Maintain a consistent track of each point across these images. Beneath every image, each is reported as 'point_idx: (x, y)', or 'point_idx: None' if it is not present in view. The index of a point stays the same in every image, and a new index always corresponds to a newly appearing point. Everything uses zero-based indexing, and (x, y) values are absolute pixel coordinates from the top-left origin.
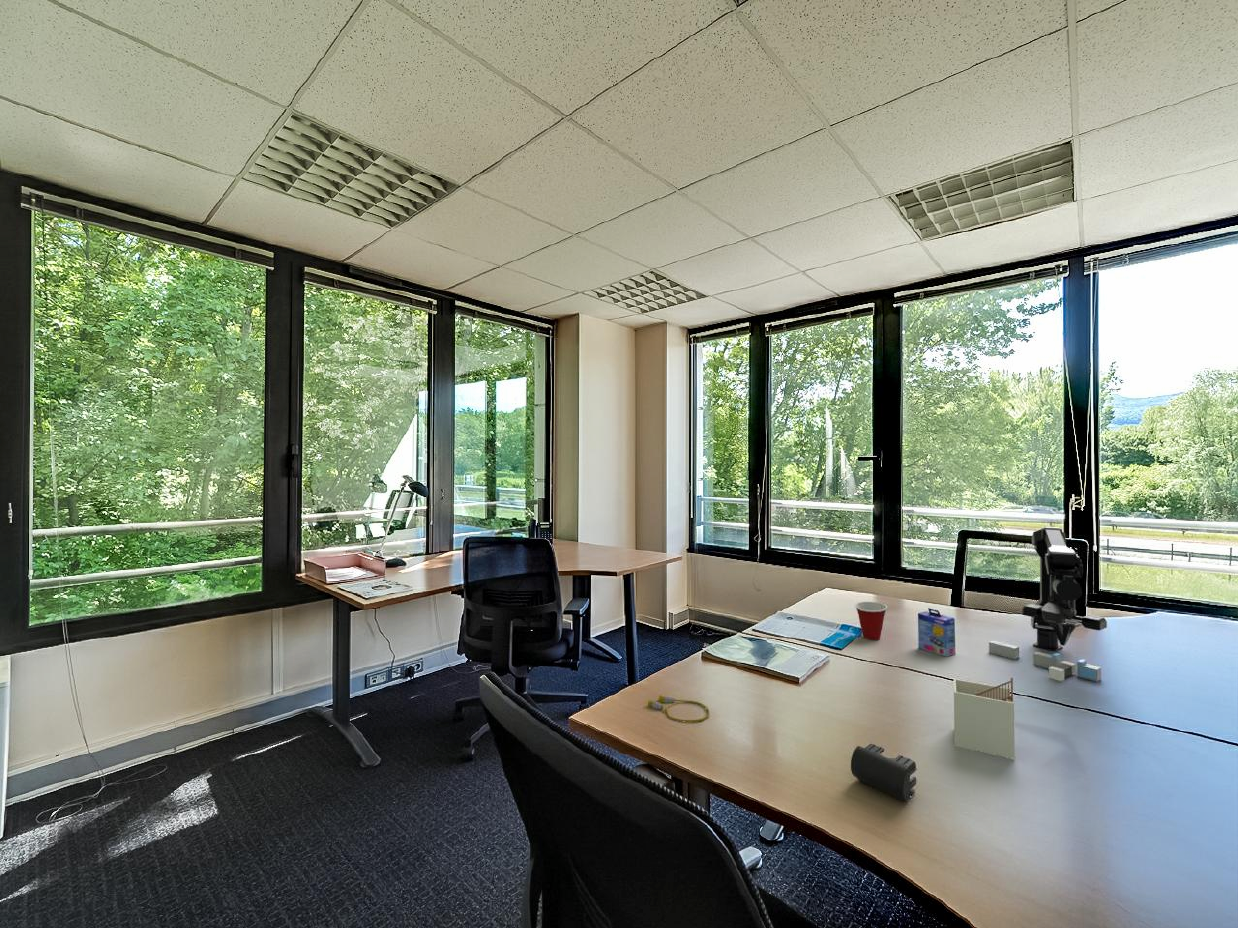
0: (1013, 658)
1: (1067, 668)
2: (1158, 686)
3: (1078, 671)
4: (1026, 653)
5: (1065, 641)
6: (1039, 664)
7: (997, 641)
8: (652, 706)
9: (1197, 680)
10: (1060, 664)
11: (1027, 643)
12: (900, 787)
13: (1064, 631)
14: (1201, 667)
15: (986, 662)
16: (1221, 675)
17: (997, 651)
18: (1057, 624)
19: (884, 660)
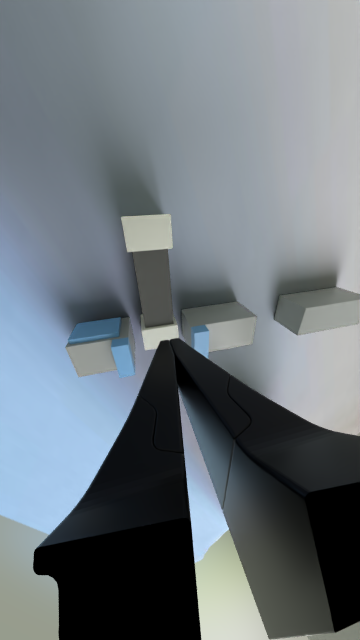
0: (283, 295)
1: (139, 294)
2: (7, 421)
3: (125, 324)
4: (267, 359)
5: (154, 361)
6: (224, 305)
7: (348, 324)
8: None
9: (25, 492)
10: (170, 310)
11: None
12: None
13: (159, 433)
14: None
15: (342, 171)
16: (38, 524)
17: (326, 292)
18: (299, 526)
19: None
